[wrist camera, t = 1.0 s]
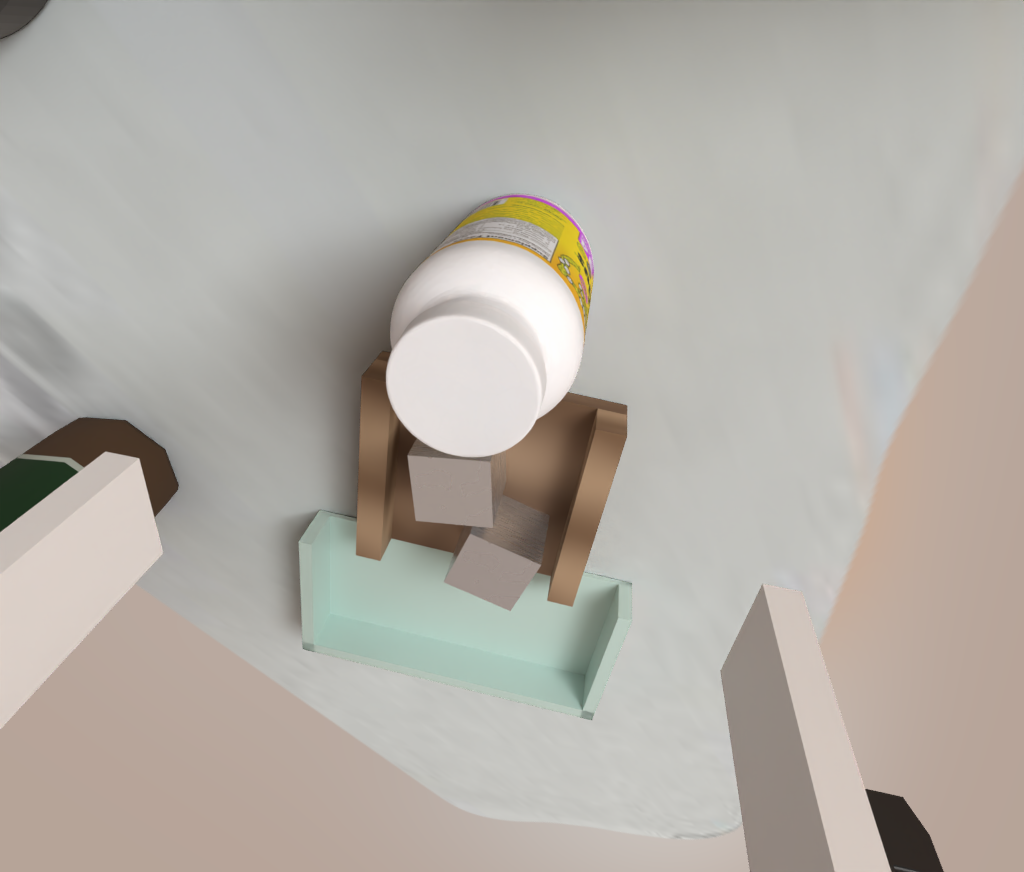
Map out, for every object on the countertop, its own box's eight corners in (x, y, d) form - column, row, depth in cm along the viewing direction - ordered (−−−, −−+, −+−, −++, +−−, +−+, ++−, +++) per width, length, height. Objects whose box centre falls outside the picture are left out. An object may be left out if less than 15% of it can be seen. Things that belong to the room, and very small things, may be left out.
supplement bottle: (570, 348, 31) (540, 511, 20) (442, 310, 31) (341, 452, 20) (615, 213, 27) (607, 323, 16) (469, 169, 27) (364, 250, 16)
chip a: (430, 413, 33) (407, 455, 29) (504, 418, 32) (490, 461, 29) (436, 475, 35) (415, 521, 31) (506, 481, 34) (492, 528, 31)
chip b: (485, 486, 35) (470, 533, 31) (549, 515, 35) (541, 565, 32) (460, 533, 37) (443, 582, 33) (520, 560, 37) (510, 611, 34)
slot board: (382, 350, 32) (361, 376, 30) (627, 405, 32) (627, 436, 29) (373, 522, 39) (355, 555, 36) (576, 570, 38) (572, 606, 36)
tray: (319, 509, 39) (298, 541, 36) (631, 583, 38) (631, 621, 36) (320, 615, 44) (302, 649, 42) (593, 681, 44) (591, 720, 41)
